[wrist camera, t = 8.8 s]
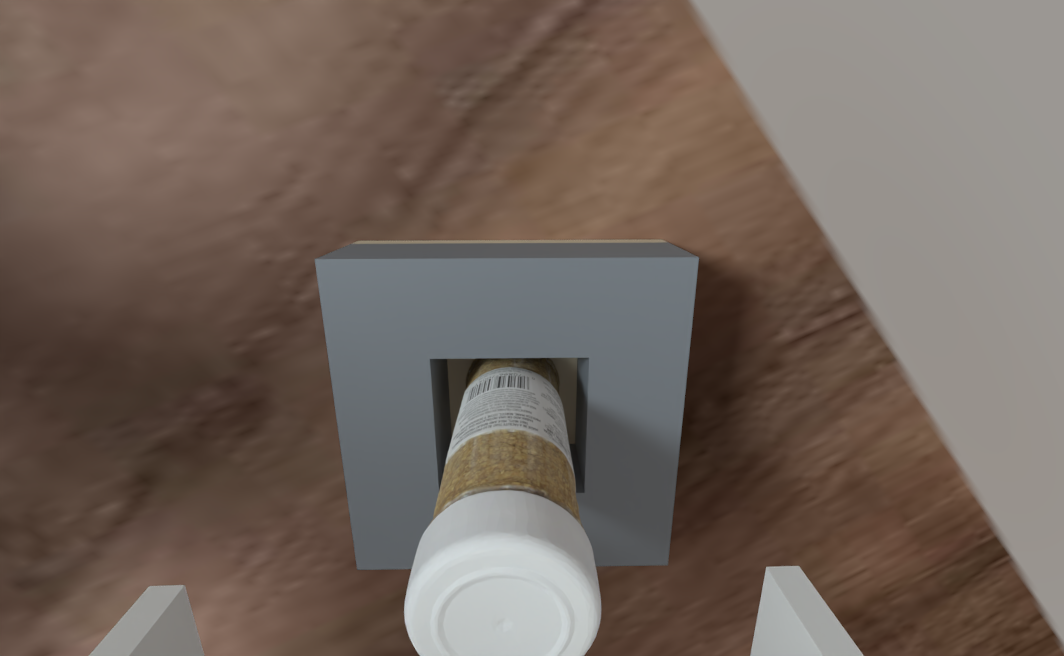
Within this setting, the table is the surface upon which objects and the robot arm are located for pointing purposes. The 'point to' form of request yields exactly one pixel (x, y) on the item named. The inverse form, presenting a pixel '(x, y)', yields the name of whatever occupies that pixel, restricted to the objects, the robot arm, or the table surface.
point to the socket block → (509, 332)
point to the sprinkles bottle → (506, 528)
